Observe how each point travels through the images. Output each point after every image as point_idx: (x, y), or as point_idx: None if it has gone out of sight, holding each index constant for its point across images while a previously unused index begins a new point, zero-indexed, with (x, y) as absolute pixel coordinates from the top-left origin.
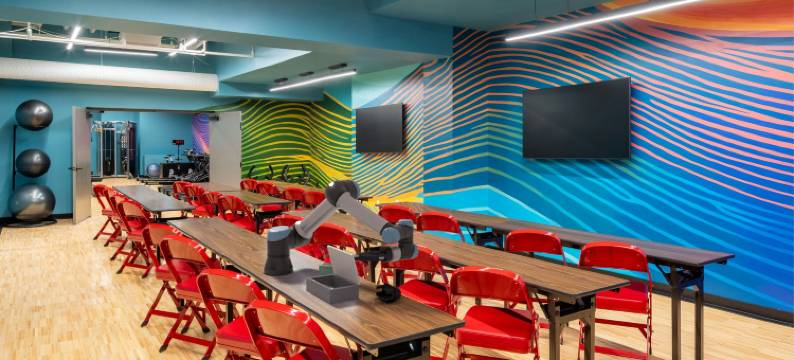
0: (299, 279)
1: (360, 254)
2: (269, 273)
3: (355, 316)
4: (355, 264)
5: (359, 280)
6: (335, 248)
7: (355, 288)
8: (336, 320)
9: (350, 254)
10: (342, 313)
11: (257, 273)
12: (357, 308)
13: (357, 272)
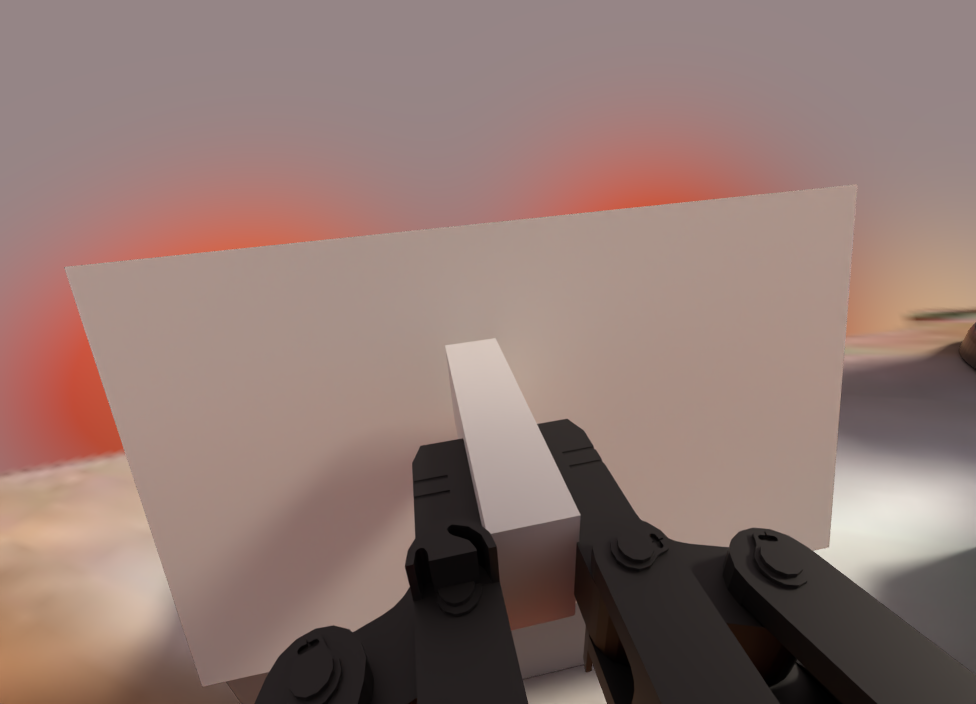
0: (926, 439)
1: (421, 546)
2: (962, 342)
3: (7, 566)
4: (120, 427)
5: (189, 639)
6: (624, 209)
7: None
8: (90, 472)
9: (133, 261)
10: (131, 516)
11: (964, 325)
12: (93, 629)
13: (156, 539)
